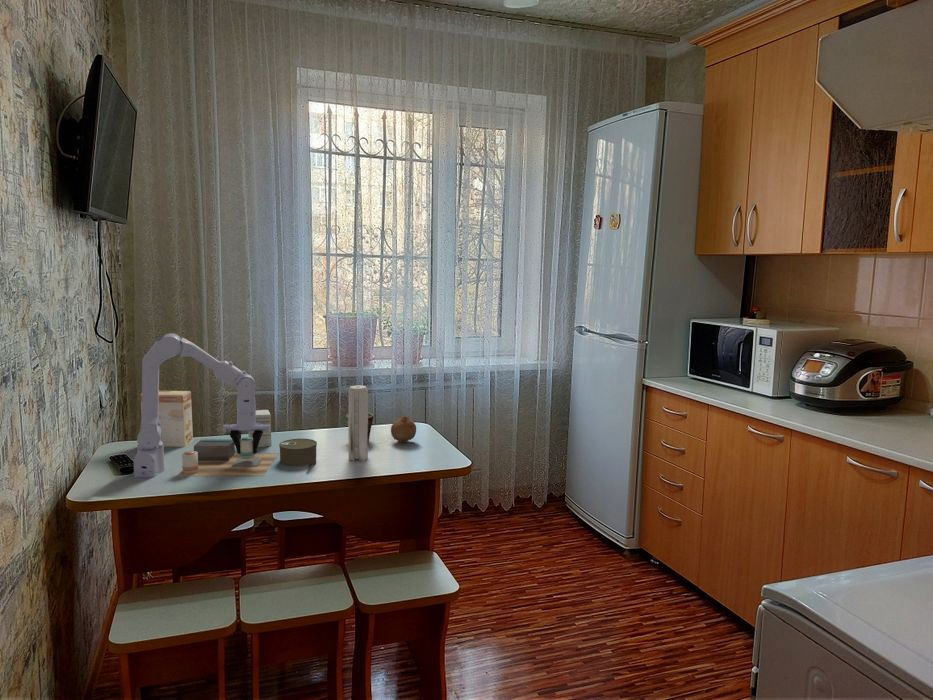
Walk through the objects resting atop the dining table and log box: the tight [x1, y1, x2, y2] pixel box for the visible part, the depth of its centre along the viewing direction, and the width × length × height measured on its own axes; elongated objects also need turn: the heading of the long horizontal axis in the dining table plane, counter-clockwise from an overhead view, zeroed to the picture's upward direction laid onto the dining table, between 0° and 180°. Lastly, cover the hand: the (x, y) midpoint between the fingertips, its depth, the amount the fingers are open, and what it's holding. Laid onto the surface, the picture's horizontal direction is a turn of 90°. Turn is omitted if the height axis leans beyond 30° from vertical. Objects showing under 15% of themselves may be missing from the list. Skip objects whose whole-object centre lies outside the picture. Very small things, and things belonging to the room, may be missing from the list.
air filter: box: [347, 385, 369, 462], centre depth 217 cm, size 6×6×25 cm
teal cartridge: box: [240, 436, 255, 459], centre depth 208 cm, size 4×4×6 cm
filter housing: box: [193, 438, 236, 461], centre depth 213 cm, size 7×11×5 cm
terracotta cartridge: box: [181, 450, 198, 474], centre depth 198 cm, size 4×4×6 cm
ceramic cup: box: [345, 412, 374, 443], centre depth 237 cm, size 13×10×10 cm
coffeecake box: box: [140, 390, 194, 448], centre depth 226 cm, size 15×7×20 cm, turn 89°
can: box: [278, 438, 318, 468], centre depth 212 cm, size 12×12×7 cm
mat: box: [232, 458, 263, 466], centre depth 209 cm, size 8×8×1 cm
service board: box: [176, 452, 280, 477], centre depth 207 cm, size 23×26×1 cm
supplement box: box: [247, 409, 272, 448], centre depth 228 cm, size 7×7×13 cm
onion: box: [390, 415, 417, 443], centre depth 238 cm, size 10×9×10 cm
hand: (247, 452), depth 208 cm, fingers closed on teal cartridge, 4 cm apart
